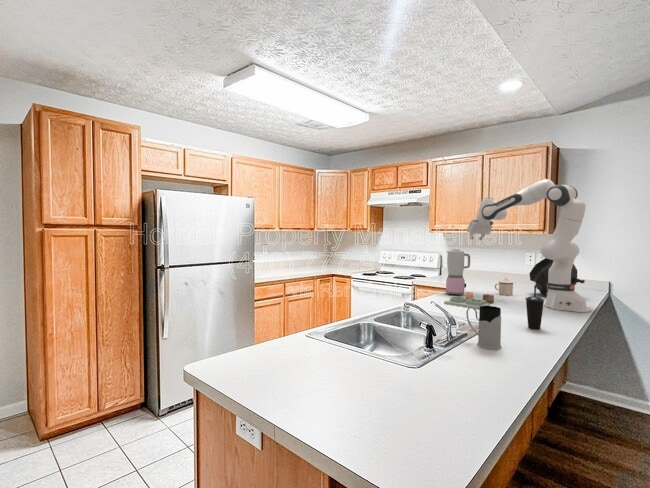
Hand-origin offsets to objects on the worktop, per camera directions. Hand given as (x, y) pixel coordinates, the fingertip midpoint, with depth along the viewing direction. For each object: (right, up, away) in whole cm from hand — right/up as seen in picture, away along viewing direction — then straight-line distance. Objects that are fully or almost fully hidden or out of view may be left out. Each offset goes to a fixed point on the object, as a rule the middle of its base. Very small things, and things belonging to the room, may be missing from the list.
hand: (475, 239), depth 250 cm
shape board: (-20, -40, -35) cm, 57 cm away
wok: (+53, -40, -6) cm, 66 cm away
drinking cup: (-10, -42, -86) cm, 97 cm away
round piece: (-12, -40, -19) cm, 46 cm away
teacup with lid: (+20, -39, +2) cm, 44 cm away
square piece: (-4, -40, -28) cm, 49 cm away
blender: (-13, -39, 0) cm, 41 cm away
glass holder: (-44, -43, -110) cm, 126 cm away
